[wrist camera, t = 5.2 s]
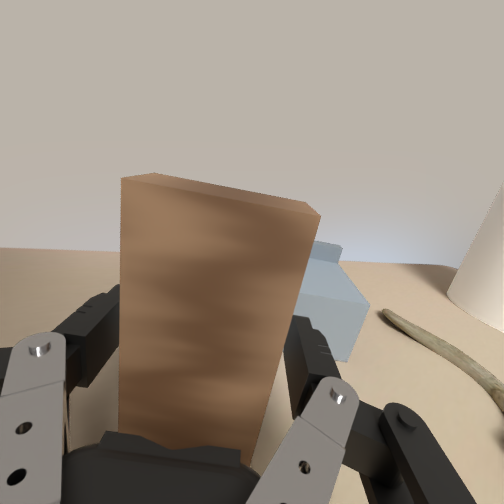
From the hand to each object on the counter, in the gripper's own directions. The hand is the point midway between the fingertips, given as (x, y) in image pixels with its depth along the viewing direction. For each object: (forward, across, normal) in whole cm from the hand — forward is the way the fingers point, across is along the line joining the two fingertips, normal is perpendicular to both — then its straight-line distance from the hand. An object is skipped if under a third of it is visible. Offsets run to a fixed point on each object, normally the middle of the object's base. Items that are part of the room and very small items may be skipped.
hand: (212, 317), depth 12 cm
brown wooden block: (-2, 0, +8) cm, 8 cm away
